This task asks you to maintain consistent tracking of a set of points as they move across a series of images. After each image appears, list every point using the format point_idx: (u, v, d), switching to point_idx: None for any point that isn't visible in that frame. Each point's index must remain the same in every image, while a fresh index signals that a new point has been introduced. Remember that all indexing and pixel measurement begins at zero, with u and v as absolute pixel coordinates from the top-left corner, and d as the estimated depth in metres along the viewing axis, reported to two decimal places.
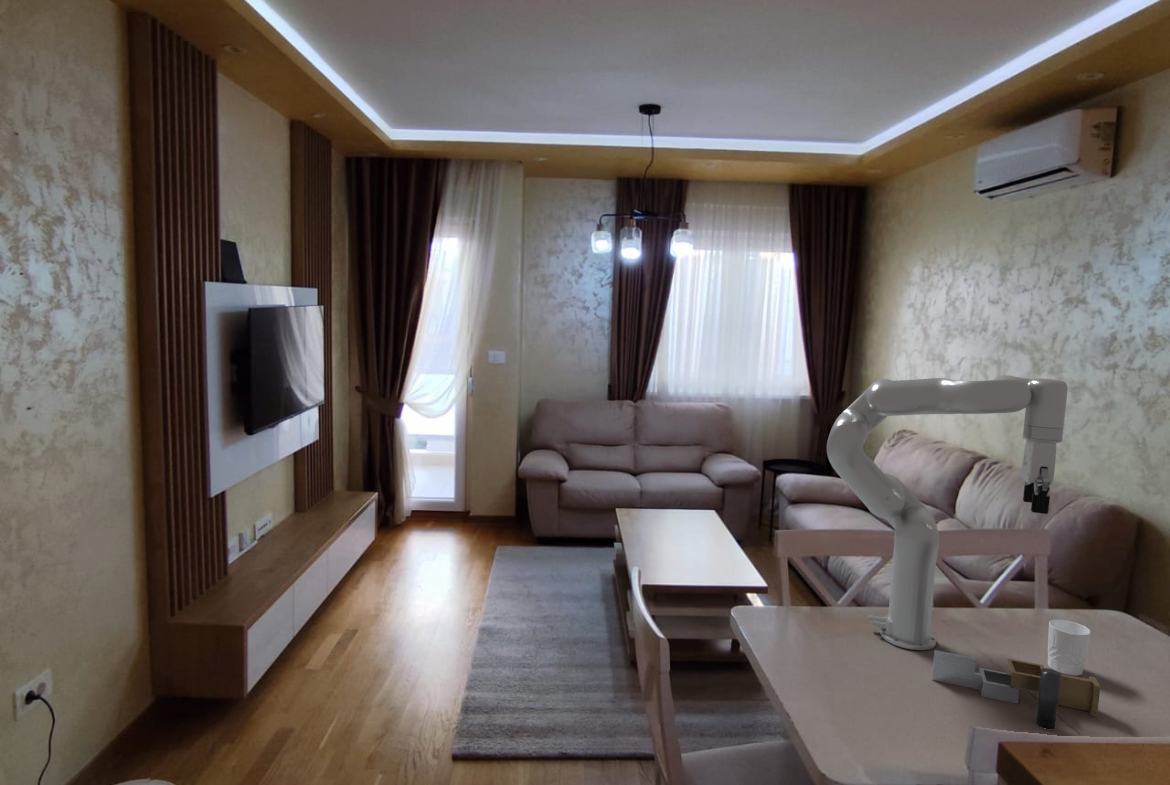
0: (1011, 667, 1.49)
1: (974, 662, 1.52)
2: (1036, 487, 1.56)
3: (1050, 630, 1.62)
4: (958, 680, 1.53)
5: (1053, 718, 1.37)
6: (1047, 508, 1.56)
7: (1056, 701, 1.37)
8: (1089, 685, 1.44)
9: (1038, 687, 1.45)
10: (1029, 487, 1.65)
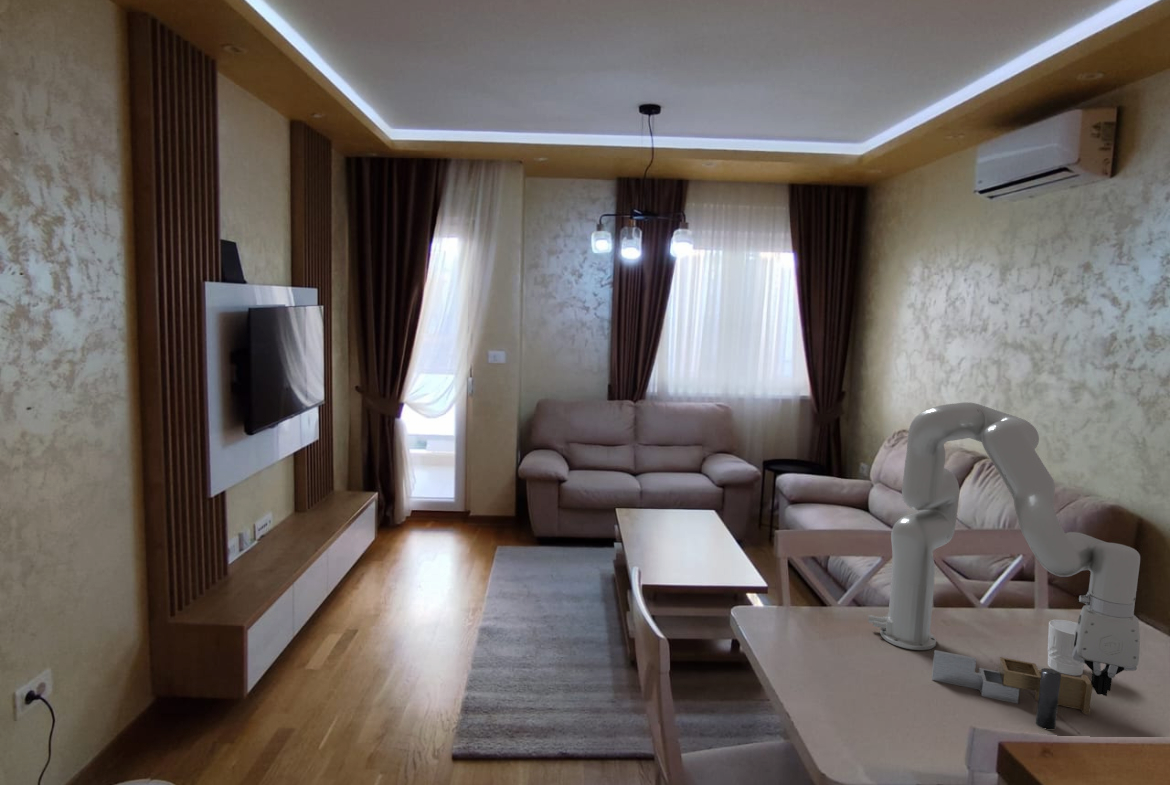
0: (1004, 666, 1.49)
1: (974, 662, 1.52)
2: None
3: (1050, 630, 1.62)
4: (958, 680, 1.53)
5: (1053, 718, 1.37)
6: None
7: (1056, 701, 1.37)
8: (1081, 684, 1.44)
9: (1030, 686, 1.45)
10: None
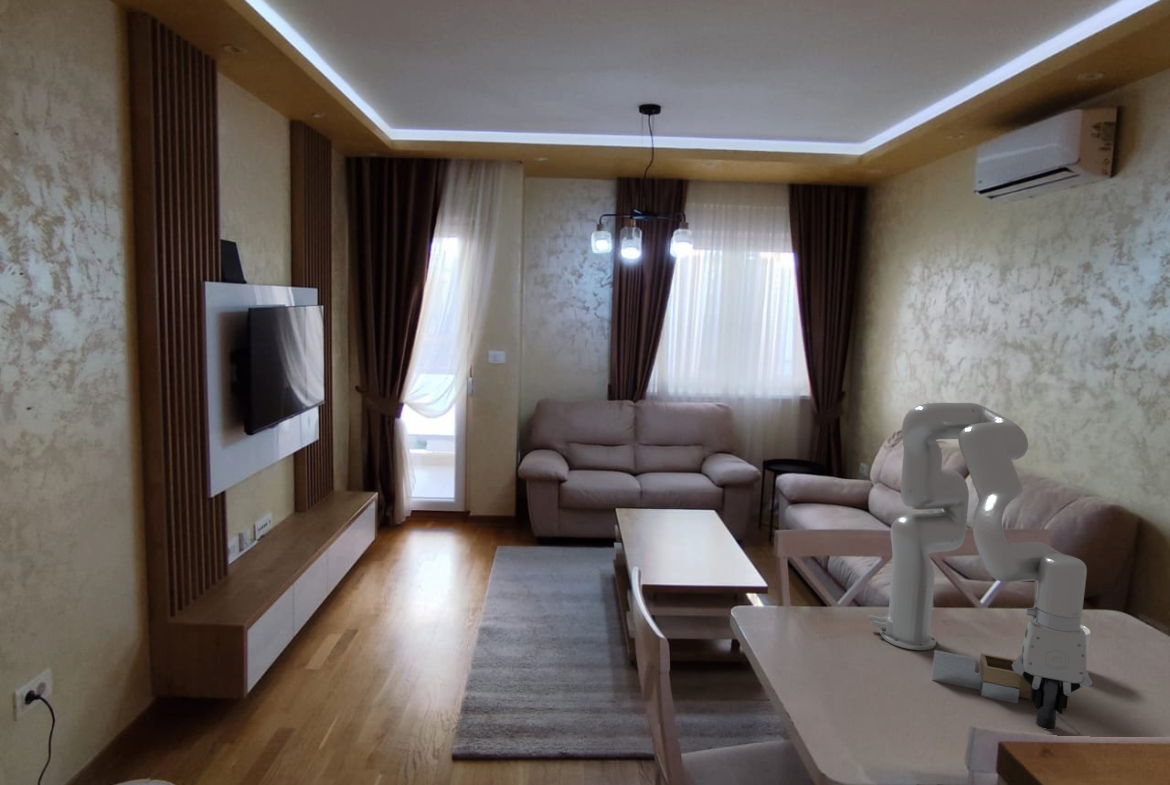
0: (984, 662, 1.51)
1: (974, 662, 1.52)
2: None
3: None
4: (958, 680, 1.53)
5: (1053, 718, 1.37)
6: None
7: (1056, 701, 1.37)
8: None
9: (1010, 681, 1.47)
10: (1040, 690, 1.38)
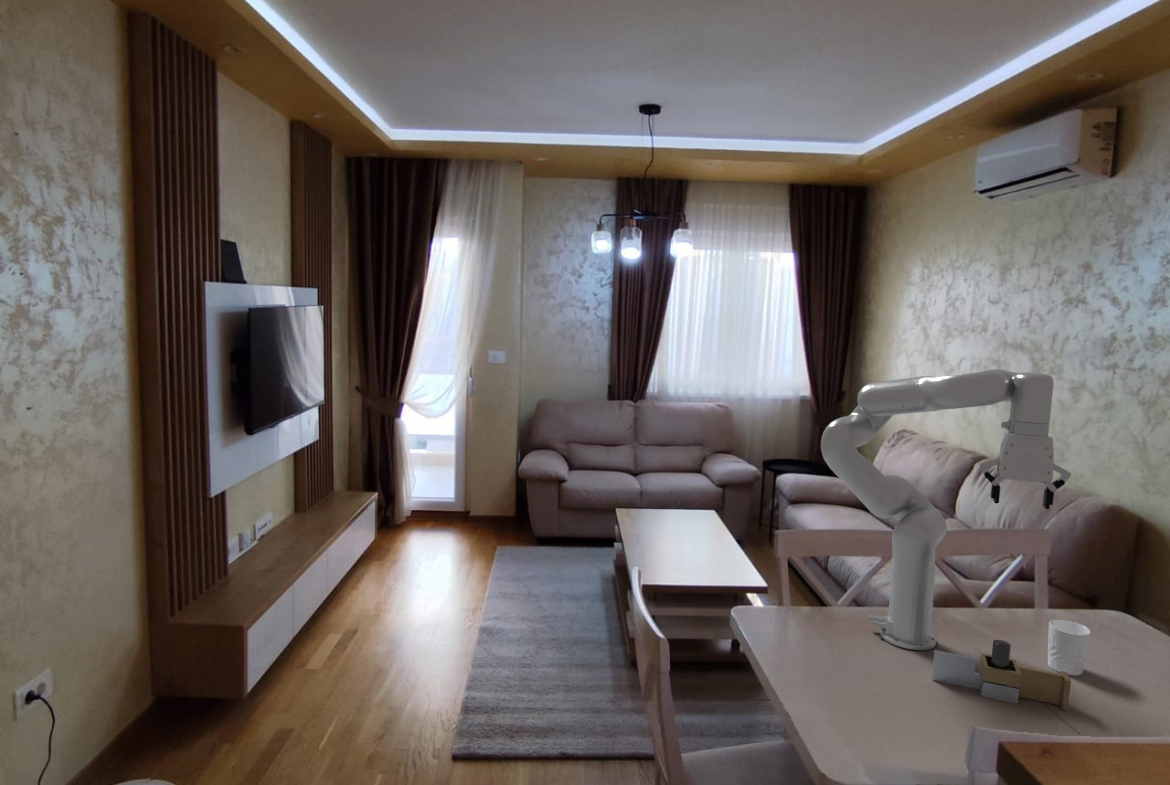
0: (984, 662, 1.51)
1: (974, 662, 1.52)
2: (1052, 483, 1.54)
3: (1050, 630, 1.62)
4: (958, 680, 1.53)
5: None
6: None
7: (1006, 669, 1.49)
8: (1060, 679, 1.46)
9: (1010, 681, 1.47)
10: (999, 487, 1.58)
